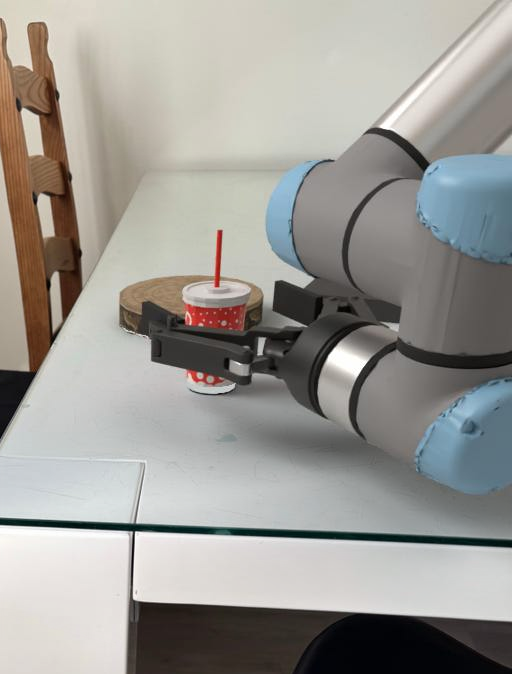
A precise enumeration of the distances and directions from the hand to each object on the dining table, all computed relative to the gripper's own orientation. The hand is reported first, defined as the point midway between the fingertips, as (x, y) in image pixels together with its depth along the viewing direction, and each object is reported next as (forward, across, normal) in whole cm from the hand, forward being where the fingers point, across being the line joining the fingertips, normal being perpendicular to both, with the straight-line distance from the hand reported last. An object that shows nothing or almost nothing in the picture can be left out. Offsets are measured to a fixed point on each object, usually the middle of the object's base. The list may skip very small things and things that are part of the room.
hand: (212, 305), depth 91 cm
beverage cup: (0, 0, -8) cm, 8 cm away
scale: (+14, +28, -8) cm, 33 cm away
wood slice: (+19, +8, -8) cm, 22 cm away
